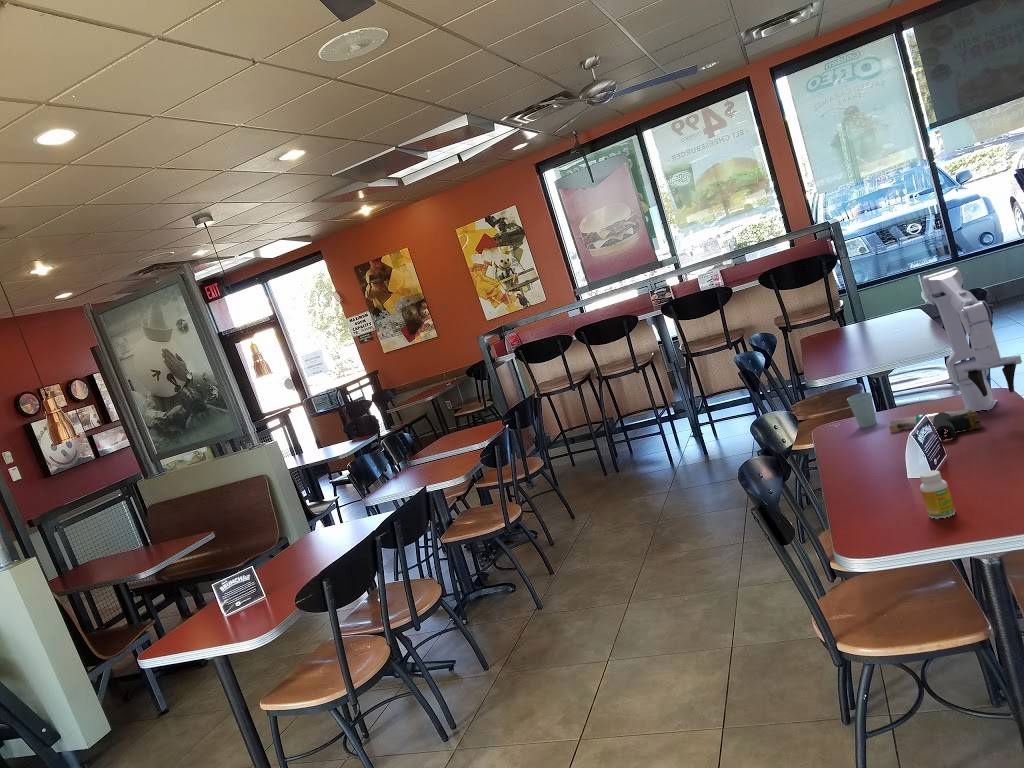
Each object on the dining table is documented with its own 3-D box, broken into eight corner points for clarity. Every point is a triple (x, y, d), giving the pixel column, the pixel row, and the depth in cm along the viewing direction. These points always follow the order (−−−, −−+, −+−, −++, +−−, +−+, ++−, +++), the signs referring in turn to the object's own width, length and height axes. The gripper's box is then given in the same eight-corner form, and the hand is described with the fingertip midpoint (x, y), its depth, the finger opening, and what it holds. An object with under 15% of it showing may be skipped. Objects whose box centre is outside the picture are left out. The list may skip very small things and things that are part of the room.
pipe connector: (974, 404, 224) (978, 417, 211) (979, 421, 225) (984, 435, 212) (930, 414, 230) (932, 427, 217) (936, 430, 230) (938, 445, 217)
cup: (851, 429, 262) (842, 400, 261) (865, 421, 265) (856, 393, 264) (869, 428, 255) (860, 399, 254) (884, 420, 258) (875, 391, 258)
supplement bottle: (945, 520, 166) (932, 478, 165) (923, 518, 171) (910, 477, 170) (961, 511, 168) (948, 469, 167) (940, 509, 173) (927, 468, 172)
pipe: (891, 432, 242) (887, 422, 242) (896, 427, 246) (892, 417, 245) (969, 422, 226) (965, 410, 226) (973, 417, 230) (969, 405, 229)
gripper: (951, 355, 213) (966, 402, 214) (1011, 344, 202) (1026, 392, 203) (958, 349, 218) (972, 394, 218) (1017, 337, 207) (1031, 385, 208)
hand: (998, 393), depth 211 cm, fingers open, 6 cm apart
